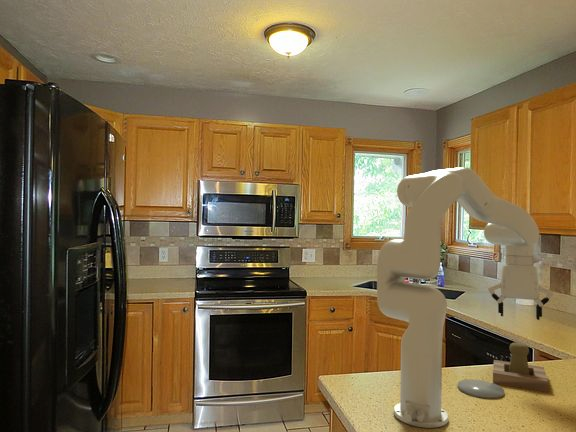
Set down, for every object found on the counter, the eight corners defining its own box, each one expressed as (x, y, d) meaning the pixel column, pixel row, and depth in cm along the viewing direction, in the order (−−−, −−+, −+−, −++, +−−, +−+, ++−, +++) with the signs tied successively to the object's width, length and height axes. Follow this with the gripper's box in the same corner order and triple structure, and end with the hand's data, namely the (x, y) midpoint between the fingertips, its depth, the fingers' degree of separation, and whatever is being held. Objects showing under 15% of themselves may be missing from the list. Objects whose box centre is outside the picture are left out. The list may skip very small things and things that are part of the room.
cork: (533, 384, 125) (533, 346, 125) (511, 382, 126) (511, 345, 126) (526, 377, 131) (526, 341, 131) (505, 375, 132) (505, 340, 132)
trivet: (504, 401, 111) (504, 398, 111) (455, 393, 117) (455, 390, 117) (504, 387, 122) (504, 384, 122) (459, 379, 128) (459, 376, 128)
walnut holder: (547, 392, 119) (547, 381, 119) (492, 382, 125) (492, 372, 125) (543, 376, 131) (543, 367, 131) (493, 369, 138) (493, 359, 138)
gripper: (551, 261, 129) (551, 318, 128) (488, 259, 137) (488, 312, 136) (553, 263, 122) (554, 323, 122) (487, 260, 130) (487, 316, 130)
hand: (519, 317), depth 129 cm, fingers open, 9 cm apart
